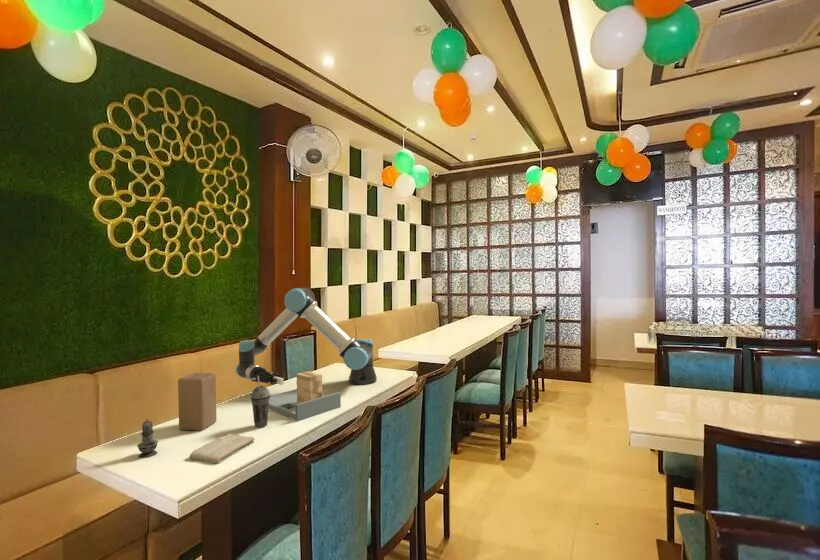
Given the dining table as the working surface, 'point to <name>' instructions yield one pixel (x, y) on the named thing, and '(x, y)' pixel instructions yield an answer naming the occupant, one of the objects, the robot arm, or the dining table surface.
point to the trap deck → (302, 405)
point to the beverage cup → (260, 405)
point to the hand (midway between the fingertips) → (282, 381)
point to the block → (197, 401)
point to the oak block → (308, 386)
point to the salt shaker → (147, 441)
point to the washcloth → (221, 448)
